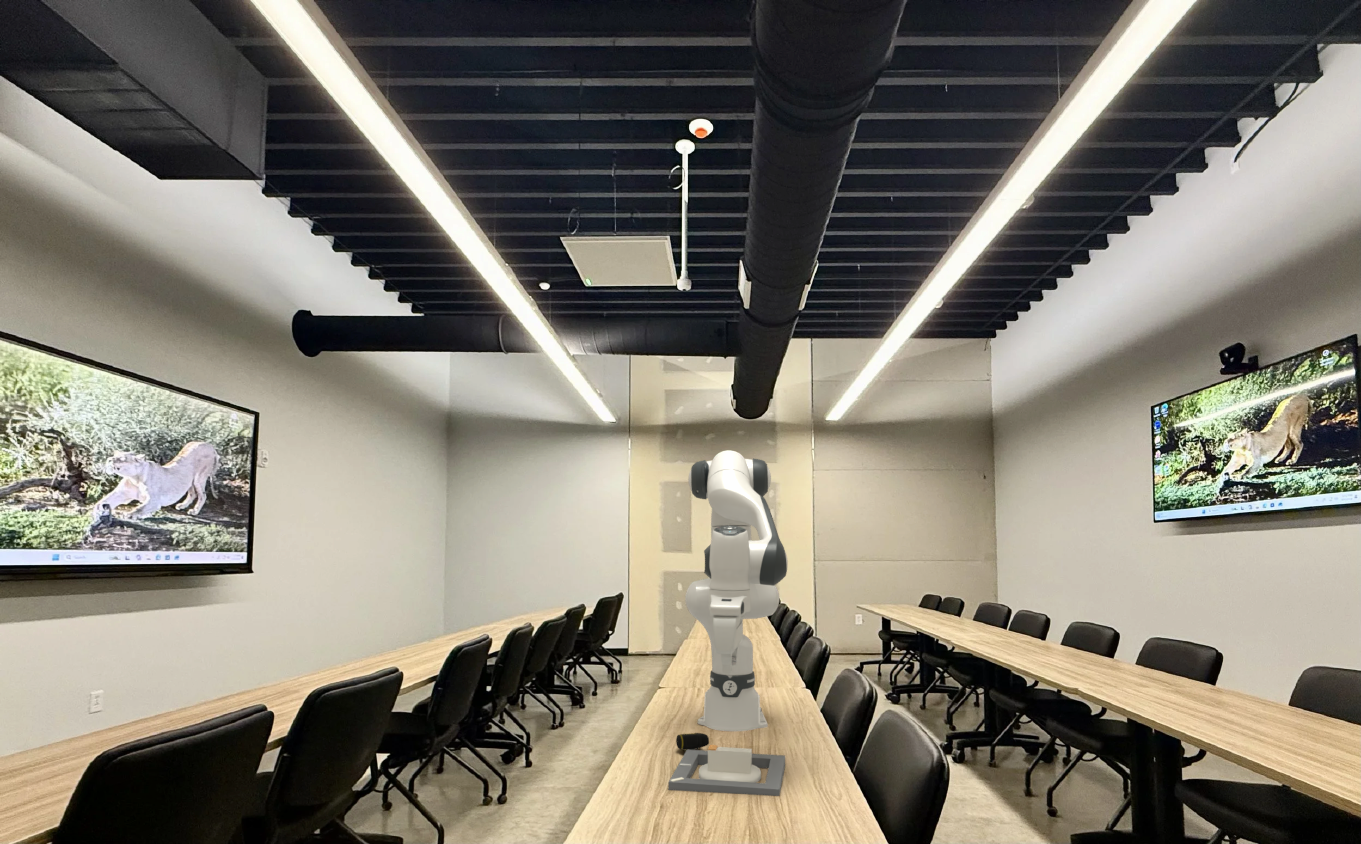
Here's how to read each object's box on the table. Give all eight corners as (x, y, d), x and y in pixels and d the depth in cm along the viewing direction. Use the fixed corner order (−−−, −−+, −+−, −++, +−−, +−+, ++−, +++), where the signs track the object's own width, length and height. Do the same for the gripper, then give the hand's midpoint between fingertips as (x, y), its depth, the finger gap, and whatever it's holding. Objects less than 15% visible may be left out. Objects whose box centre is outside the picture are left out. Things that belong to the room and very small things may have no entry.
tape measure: (711, 749, 190) (709, 731, 191) (683, 752, 188) (682, 735, 189) (699, 748, 196) (698, 731, 197) (672, 752, 194) (671, 735, 195)
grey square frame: (687, 761, 185) (687, 748, 186) (785, 767, 181) (785, 754, 182) (668, 795, 164) (668, 781, 164) (779, 802, 160) (779, 788, 160)
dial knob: (763, 770, 178) (763, 740, 179) (758, 790, 165) (758, 759, 166) (703, 766, 180) (703, 737, 181) (694, 786, 167) (694, 755, 168)
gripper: (721, 596, 187) (721, 659, 186) (708, 607, 167) (708, 677, 166) (749, 597, 186) (749, 660, 184) (739, 608, 166) (739, 679, 164)
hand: (729, 668), depth 175 cm, fingers open, 8 cm apart
